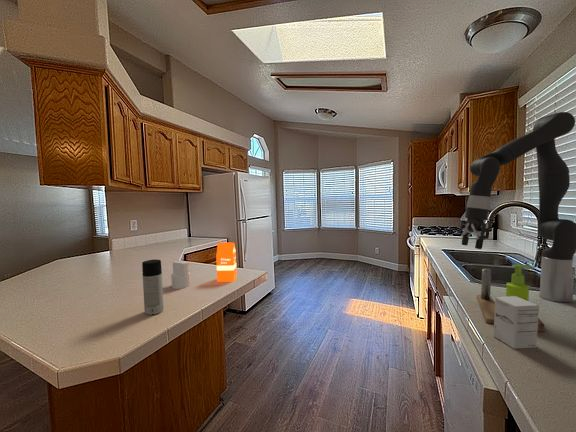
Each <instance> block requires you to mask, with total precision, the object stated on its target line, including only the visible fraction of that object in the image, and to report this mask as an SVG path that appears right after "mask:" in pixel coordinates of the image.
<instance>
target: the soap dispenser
mask: <svg viewBox="0 0 576 432" xmlns="http://www.w3.org/2000/svg"><path fill="white" fill-rule="evenodd" d="M511 266H512V268H514V272H513V273H511V282H510V281H509V282H506V285H505V286H506V290H505V297H509V296H516V297H519V298H521V299H524V300H526V301H529V296H530V295H529V294H530V286H529V285H527V284H525V274H523V272H522V270H523V269H522V268H526V269H527V268H528V269H534V268H535V267H534V266H530V265H527V264H517V263H516V264H515V263H514V264H512V265H511Z"/></svg>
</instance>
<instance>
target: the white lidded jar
mask: <svg viewBox="0 0 576 432" xmlns="http://www.w3.org/2000/svg"><path fill="white" fill-rule="evenodd" d="M170 276H171V278H170V279H171V288H172V289H174V288H175V289H176V290H179V289H181V288H182V289H186V287H187V288H189V287H191V285H192V278H191V277H192V275H191V272H190V266H189V262H188V261H182V260H174V261H172V273H171V275H170Z"/></svg>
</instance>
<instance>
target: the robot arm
mask: <svg viewBox="0 0 576 432" xmlns="http://www.w3.org/2000/svg"><path fill="white" fill-rule="evenodd" d="M575 124H576V118H575V117H574V115H573V114H572V113H570V112H568V111H561V112H559V111H558V112H555V113H552V114H549V115H544V116H542V117H539V118H538V119H536V120H535V122H534V123H533V128H532V131H531V132H528V133H526V134H524V135H522V136H519V137H517V138H515V139H513V140H511V141H508V142H507V143H505V144H504V145H502V146H500V147H499V148H497V149H496V150H494V151H492V152H489V153H488V154H485V155H483V156H481V157H479V158H476V159H475V160H474V161H473V162H472V163H471V165H470V168H469V170H470V173H471V174H472V175H473V176H476V177H478V178H477V180H475V181H474V182H471V184H470V185H471V186H470V188H469V189H470V191H469V195H468V196H469V197H468V199H467V203H466V210H465V216H464V217H465V220H464V219H463V220H461V223H460V227H459V232H458V233H459V234H460V235H461V236H462V238H461V245H462V246H468V245H469V239H470V235H471V234H472V233H473V234H474V235H475V237H476V239H475V240H476V241H475V246H474V248H475V249H476V250H482V249H483V244H484V241H485V240H488V239H489V237H490V231H491V229H490V228H491V223H488V222H487V223H486V222H485V221H487V220H488V217H489V211H490V207H491V196H492V195H491V194H492V189H493V186H494V183H496V179H497V177H498V175H499V173H500V170H501V166H506V165H507V164H510V163H511V162H513V161H515V160H516V159H518V158H520V157H521V156H523V155H525V154H527V153H528V152H530V151H532V150H534V149H535V150H536V161H537V180H538V181H537V182H538V194H539V195H538V200H539V204H538V205H539V206H538V207H539V208H538V218H537V231H538V234H539V236H540V237H541V238H542V239H545V240H547V241H552V246H551V247H549V248H544V249H542V251H541V261H540V263H541V264H540V265H541V267H540V283H539V284H540V285H539V297H541V298H543V299H545V300H547V301H548V300H549V301H553V302H559V303H573V301H574V299H573V298H574V285H575V280H574V278H573V264H574V263H573V262H574V255H575V253H576V222H575V221H574V220H570V219H565V218H563V219H562V218H559V208H560V203H561V202H562V200H563V199H564V197H565V195H566V194H567V192H568V190H569V188H570V178H571V177H570V169H569V167H568V165H567V163H566V162H565V160H563V158H562V157H561V156H560V154H559V153H558V151H557V148H556V138H559V137H562V136H564V135H567V134H569V133H570V132H571V131H573V129H574V127H575Z"/></svg>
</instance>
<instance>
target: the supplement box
mask: <svg viewBox="0 0 576 432" xmlns="http://www.w3.org/2000/svg"><path fill="white" fill-rule="evenodd" d="M494 303H495V316H494V324H493V337H494V338H496V339H498V340H499V341H501V342H503V343H504V344H506V345H508V346H509V347H511V348H513V349H514V350H515V349H516V350H517V349H533V348H534V349H535V348H537V343H538V331H537V330H538V318H539V313H540V312H539V311H540V305H539V304H536V303H533V302H531V301H529V300H528V301H526V300H524V299H521V298H519V297H516V296H509V297H506V296H496V297H495V298H494Z"/></svg>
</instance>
